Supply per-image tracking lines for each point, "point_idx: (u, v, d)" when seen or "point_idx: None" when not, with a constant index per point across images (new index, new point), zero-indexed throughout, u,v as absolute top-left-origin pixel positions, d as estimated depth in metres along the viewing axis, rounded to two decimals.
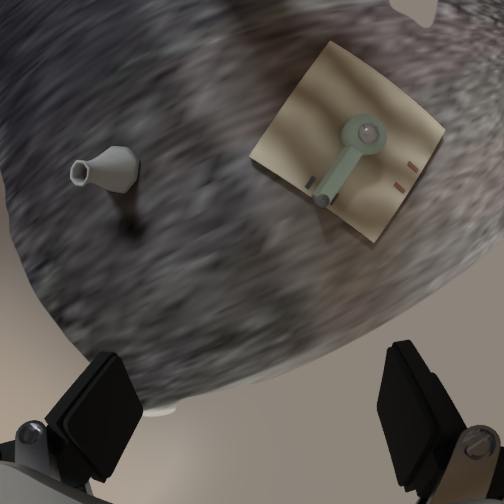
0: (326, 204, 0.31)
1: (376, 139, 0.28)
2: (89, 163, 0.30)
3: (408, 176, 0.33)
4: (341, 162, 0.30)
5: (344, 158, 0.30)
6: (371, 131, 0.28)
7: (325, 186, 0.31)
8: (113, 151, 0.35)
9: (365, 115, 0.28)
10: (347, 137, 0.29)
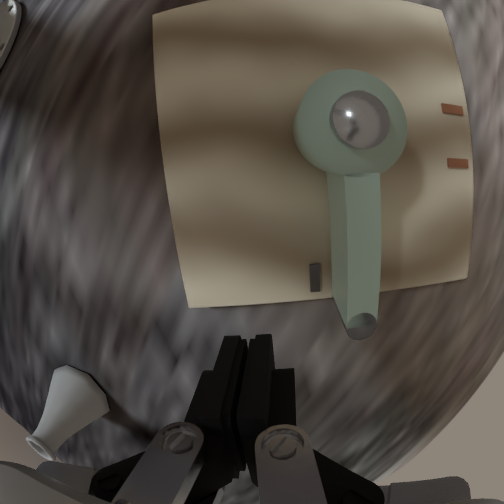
0: (372, 326, 0.13)
1: (386, 121, 0.10)
2: (39, 432, 0.16)
3: (456, 131, 0.14)
4: (349, 231, 0.12)
5: (349, 218, 0.12)
6: (362, 111, 0.10)
7: (350, 301, 0.13)
8: (55, 385, 0.22)
9: (319, 83, 0.10)
10: (322, 164, 0.11)
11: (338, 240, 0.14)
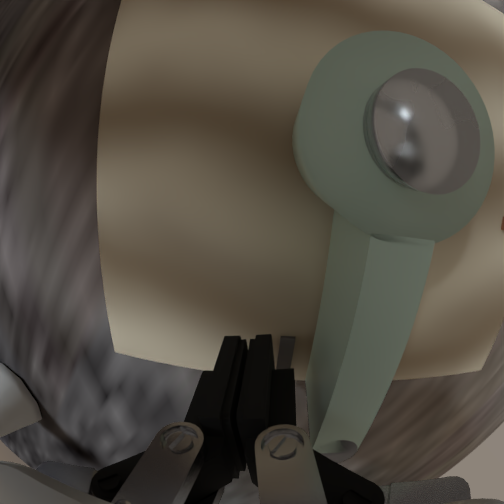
0: (349, 453, 0.08)
1: (474, 147, 0.04)
2: None
3: None
4: (353, 337, 0.06)
5: (360, 316, 0.06)
6: (437, 114, 0.04)
7: (325, 427, 0.07)
8: None
9: (355, 45, 0.04)
10: (331, 204, 0.06)
11: (330, 328, 0.08)
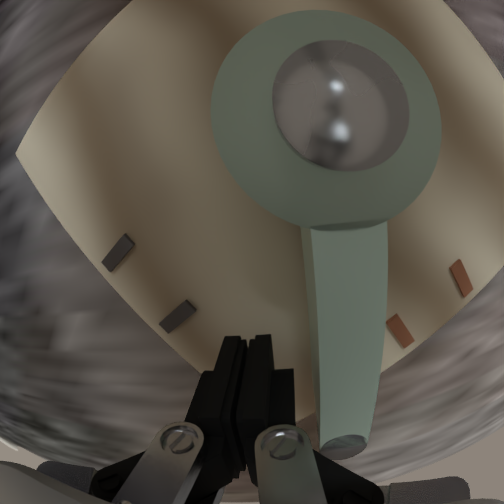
0: (360, 446, 0.07)
1: (400, 106, 0.04)
2: None
3: (438, 303, 0.10)
4: (323, 333, 0.06)
5: (323, 311, 0.06)
6: (345, 84, 0.04)
7: (324, 424, 0.07)
8: None
9: (252, 41, 0.05)
10: None
11: (312, 325, 0.08)
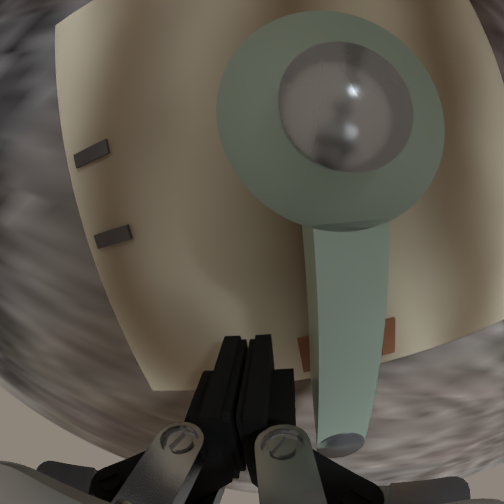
0: (357, 444, 0.07)
1: (405, 109, 0.04)
2: None
3: None
4: (323, 331, 0.06)
5: (324, 309, 0.06)
6: (350, 86, 0.04)
7: (322, 421, 0.07)
8: None
9: (258, 40, 0.05)
10: None
11: (312, 323, 0.08)
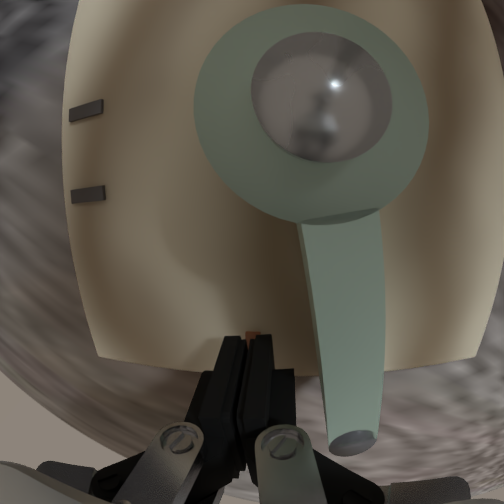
0: (370, 441, 0.07)
1: (382, 92, 0.04)
2: None
3: (303, 353, 0.12)
4: (322, 328, 0.06)
5: (321, 306, 0.06)
6: (323, 75, 0.04)
7: (331, 420, 0.07)
8: None
9: (230, 41, 0.05)
10: None
11: None
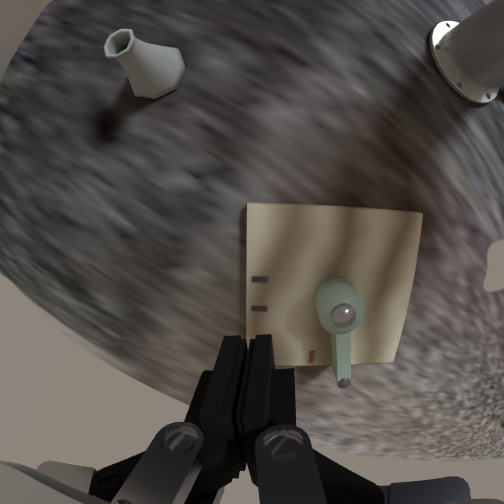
0: (348, 382, 0.30)
1: (354, 316, 0.27)
2: (136, 44, 0.19)
3: (327, 357, 0.34)
4: (337, 351, 0.29)
5: (337, 347, 0.29)
6: (344, 314, 0.27)
7: (338, 374, 0.30)
8: (170, 56, 0.25)
9: (328, 300, 0.27)
10: None
11: (334, 349, 0.31)
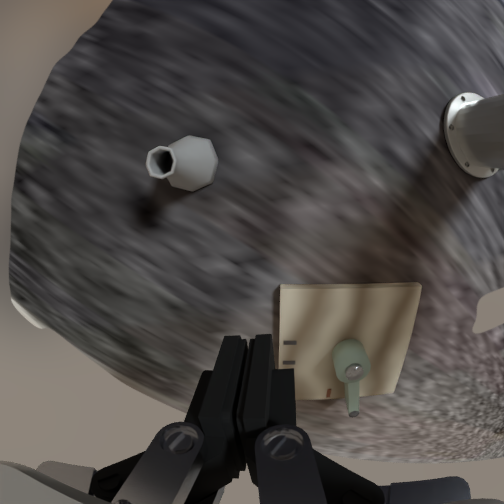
0: (357, 413, 0.37)
1: (362, 372, 0.33)
2: (177, 161, 0.26)
3: (341, 392, 0.41)
4: (349, 394, 0.35)
5: (349, 391, 0.35)
6: (355, 372, 0.33)
7: (349, 408, 0.36)
8: (204, 154, 0.32)
9: (343, 362, 0.34)
10: None
11: (346, 390, 0.38)
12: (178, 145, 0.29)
